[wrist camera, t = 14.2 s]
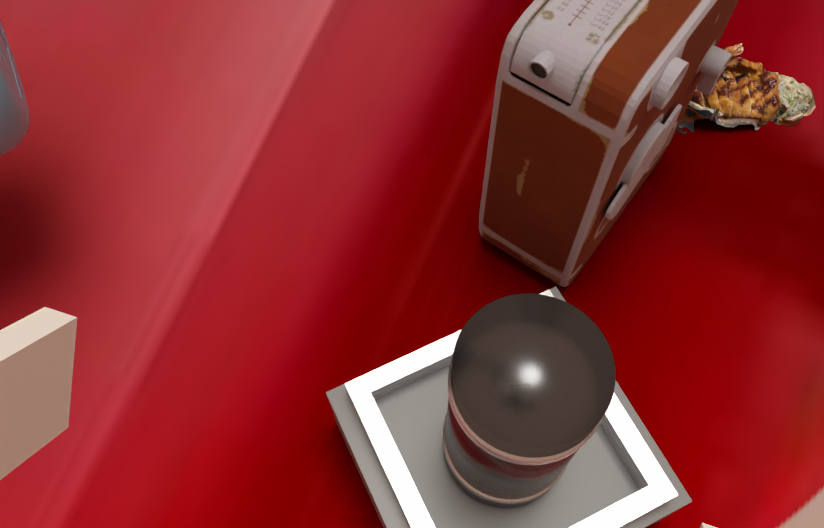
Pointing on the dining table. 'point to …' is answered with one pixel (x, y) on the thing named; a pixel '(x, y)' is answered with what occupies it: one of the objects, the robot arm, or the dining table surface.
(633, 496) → the square picture frame
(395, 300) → the dining table surface
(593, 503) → the square shallow tray
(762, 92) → the pastry
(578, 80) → the cine camera
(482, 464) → the lens
